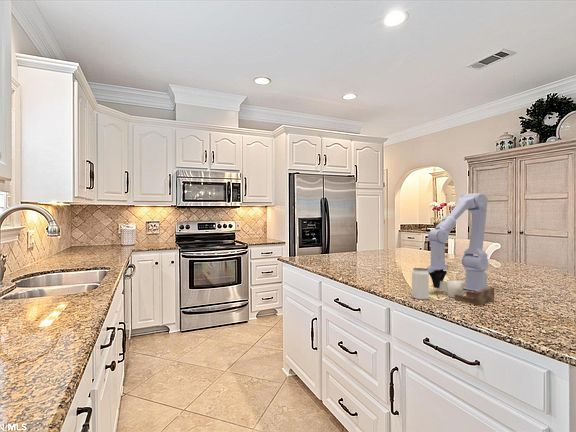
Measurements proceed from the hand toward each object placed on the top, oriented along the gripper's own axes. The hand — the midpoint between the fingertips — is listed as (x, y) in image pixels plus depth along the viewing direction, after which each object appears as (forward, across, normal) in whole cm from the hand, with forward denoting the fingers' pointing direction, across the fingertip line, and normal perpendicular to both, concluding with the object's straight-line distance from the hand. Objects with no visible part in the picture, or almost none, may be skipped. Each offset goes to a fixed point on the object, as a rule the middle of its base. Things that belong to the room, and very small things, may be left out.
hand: (437, 287), depth 145 cm
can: (+3, -14, 0) cm, 14 cm away
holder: (+2, 0, -14) cm, 15 cm away
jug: (+2, 0, -6) cm, 6 cm away
